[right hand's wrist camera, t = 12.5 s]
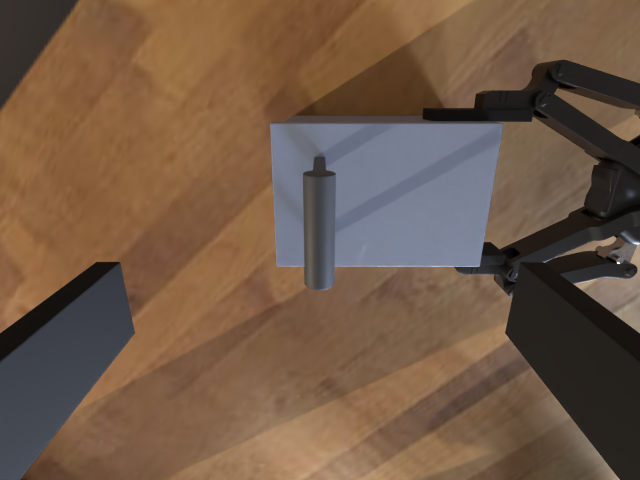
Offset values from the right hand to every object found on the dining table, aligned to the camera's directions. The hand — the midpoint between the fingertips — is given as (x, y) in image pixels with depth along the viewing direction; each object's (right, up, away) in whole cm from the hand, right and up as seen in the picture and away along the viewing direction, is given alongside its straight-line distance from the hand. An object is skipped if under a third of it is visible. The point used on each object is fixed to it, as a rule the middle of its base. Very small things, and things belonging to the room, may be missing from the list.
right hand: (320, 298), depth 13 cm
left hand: (+7, +6, +15) cm, 18 cm away
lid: (+4, +5, +13) cm, 15 cm away
